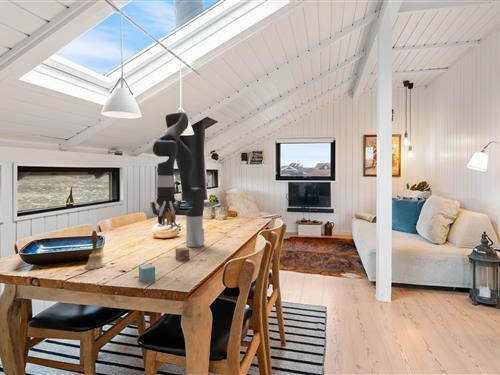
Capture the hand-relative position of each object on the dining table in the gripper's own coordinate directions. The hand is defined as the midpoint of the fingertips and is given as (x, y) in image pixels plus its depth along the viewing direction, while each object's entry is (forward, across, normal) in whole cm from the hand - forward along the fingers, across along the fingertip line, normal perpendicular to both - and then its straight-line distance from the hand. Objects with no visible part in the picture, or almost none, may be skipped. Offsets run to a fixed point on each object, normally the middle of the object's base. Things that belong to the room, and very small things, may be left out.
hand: (166, 223), depth 140 cm
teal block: (+19, +12, +12) cm, 26 cm away
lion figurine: (+1, 0, +1) cm, 2 cm away
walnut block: (+19, -10, -6) cm, 22 cm away
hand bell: (+19, +27, -16) cm, 37 cm away
